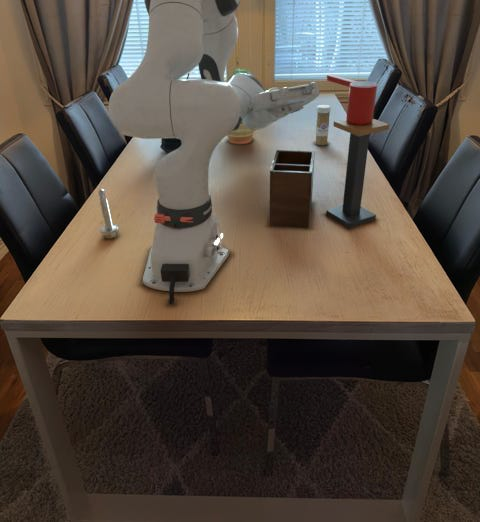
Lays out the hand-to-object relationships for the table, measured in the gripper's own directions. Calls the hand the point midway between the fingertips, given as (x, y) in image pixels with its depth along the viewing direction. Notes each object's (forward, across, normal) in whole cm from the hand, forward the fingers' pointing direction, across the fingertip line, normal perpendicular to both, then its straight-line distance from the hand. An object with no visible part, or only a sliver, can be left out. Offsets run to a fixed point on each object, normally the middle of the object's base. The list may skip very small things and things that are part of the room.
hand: (300, 87), depth 126 cm
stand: (+7, 0, +37) cm, 37 cm away
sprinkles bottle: (-35, +28, +12) cm, 47 cm away
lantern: (-55, -18, +1) cm, 58 cm away
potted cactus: (-53, +6, +2) cm, 53 cm away
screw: (-15, -57, +24) cm, 64 cm away
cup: (+15, 0, +12) cm, 19 cm away
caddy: (-2, -12, +32) cm, 34 cm away
